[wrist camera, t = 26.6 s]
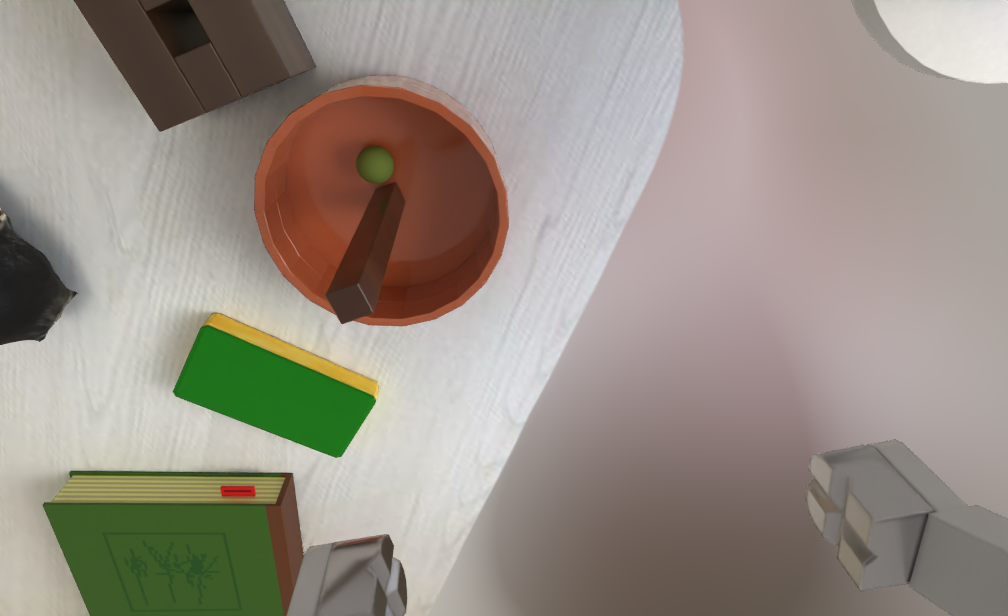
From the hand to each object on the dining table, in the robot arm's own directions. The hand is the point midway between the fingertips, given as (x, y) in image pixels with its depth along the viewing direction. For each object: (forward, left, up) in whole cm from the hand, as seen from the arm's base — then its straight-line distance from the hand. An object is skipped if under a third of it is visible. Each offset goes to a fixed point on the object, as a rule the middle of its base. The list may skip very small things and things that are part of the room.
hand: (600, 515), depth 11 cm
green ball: (+8, -2, -29) cm, 30 cm away
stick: (+8, 0, -31) cm, 32 cm away
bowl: (+8, 0, -31) cm, 32 cm away
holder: (+13, -13, -31) cm, 36 cm away
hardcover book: (+41, +27, -31) cm, 58 cm away
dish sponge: (+23, +11, -31) cm, 40 cm away
